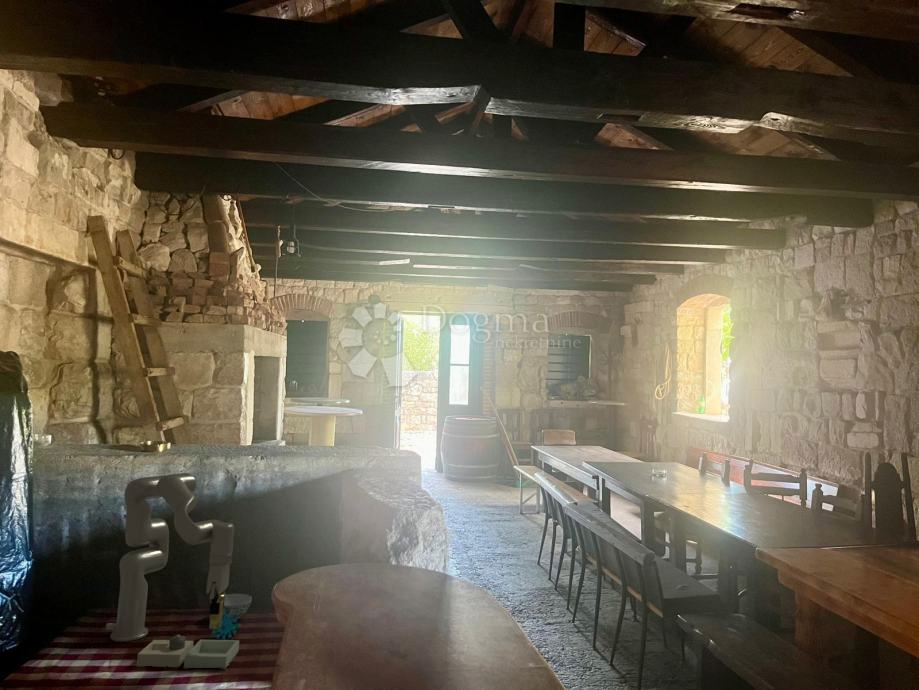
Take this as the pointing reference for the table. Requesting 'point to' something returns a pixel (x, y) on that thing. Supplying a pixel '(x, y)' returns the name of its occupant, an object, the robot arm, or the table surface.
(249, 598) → the chinaware
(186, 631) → the table surface
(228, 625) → the teal lobed piece
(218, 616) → the pin
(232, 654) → the tray
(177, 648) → the beige boxy piece
